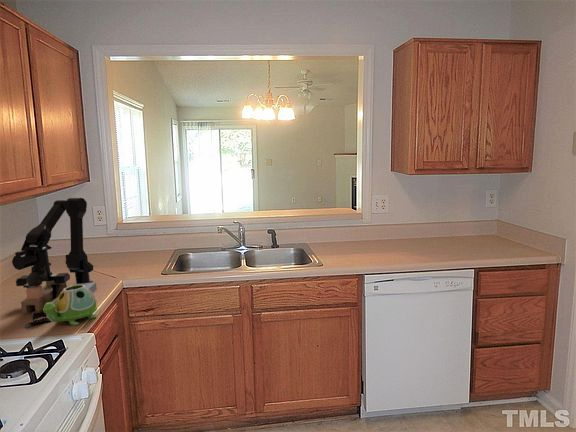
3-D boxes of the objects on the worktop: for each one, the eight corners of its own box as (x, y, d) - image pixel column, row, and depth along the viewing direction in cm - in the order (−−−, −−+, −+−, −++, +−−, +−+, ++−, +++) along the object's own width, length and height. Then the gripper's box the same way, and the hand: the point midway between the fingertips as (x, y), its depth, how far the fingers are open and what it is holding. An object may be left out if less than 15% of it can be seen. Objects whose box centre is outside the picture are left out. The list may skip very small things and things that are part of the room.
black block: (57, 316, 160) (56, 304, 159) (61, 322, 154) (59, 310, 153) (18, 325, 153) (17, 313, 152) (21, 332, 147) (19, 319, 146)
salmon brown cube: (32, 295, 167) (31, 286, 167) (43, 295, 168) (41, 285, 167) (27, 299, 163) (25, 289, 163) (38, 298, 164) (36, 289, 163)
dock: (75, 290, 187) (74, 283, 186) (96, 288, 187) (95, 282, 187) (48, 312, 162) (47, 304, 162) (73, 311, 163) (72, 303, 162)
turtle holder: (37, 326, 150) (32, 294, 148) (87, 309, 164) (83, 279, 162) (54, 334, 143) (49, 300, 141) (105, 315, 157) (101, 284, 155)
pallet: (52, 292, 186) (50, 281, 185) (67, 291, 186) (65, 280, 185) (22, 314, 162) (20, 302, 161) (40, 313, 162) (38, 300, 162)
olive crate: (51, 283, 182) (49, 274, 182) (60, 282, 183) (59, 273, 182) (46, 286, 178) (45, 277, 178) (56, 285, 179) (55, 276, 178)
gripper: (5, 269, 162) (11, 308, 165) (55, 266, 164) (61, 305, 166) (20, 261, 173) (26, 298, 176) (68, 258, 175) (73, 295, 177)
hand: (46, 299), depth 174 cm, fingers closed on pallet, 6 cm apart
